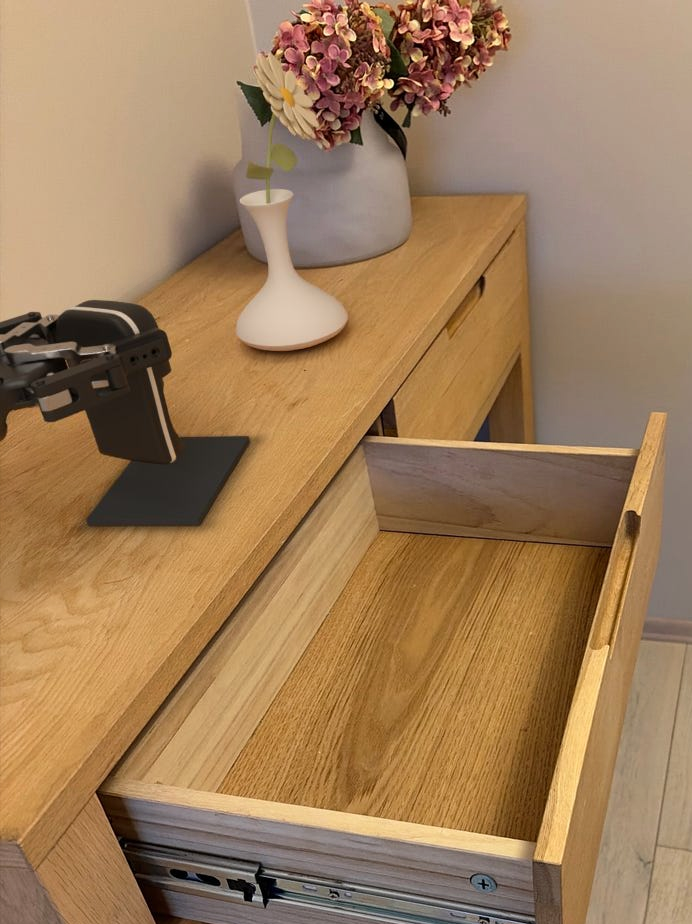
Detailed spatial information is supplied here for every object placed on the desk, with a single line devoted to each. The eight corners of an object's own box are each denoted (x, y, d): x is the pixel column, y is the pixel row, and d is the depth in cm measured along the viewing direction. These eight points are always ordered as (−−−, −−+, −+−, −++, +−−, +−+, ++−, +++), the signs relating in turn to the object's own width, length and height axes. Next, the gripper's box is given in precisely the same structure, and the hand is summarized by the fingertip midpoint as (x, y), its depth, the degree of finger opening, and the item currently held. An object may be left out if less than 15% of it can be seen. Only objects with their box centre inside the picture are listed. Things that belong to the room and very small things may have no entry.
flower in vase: (302, 369, 94) (242, 75, 79) (216, 351, 100) (143, 71, 84) (382, 320, 103) (342, 44, 87) (298, 305, 108) (246, 42, 92)
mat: (88, 526, 75) (85, 519, 75) (150, 443, 85) (148, 437, 85) (199, 526, 74) (197, 519, 74) (250, 441, 84) (248, 435, 83)
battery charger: (200, 446, 76) (160, 298, 68) (170, 469, 73) (124, 317, 66) (128, 435, 78) (82, 290, 71) (96, 457, 75) (45, 309, 68)
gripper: (-79, 384, 56) (175, 298, 64) (-154, 326, 64) (79, 257, 73) (-27, 498, 61) (204, 404, 69) (-104, 430, 69) (110, 354, 77)
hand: (139, 329), depth 71 cm, fingers closed on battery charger, 7 cm apart
